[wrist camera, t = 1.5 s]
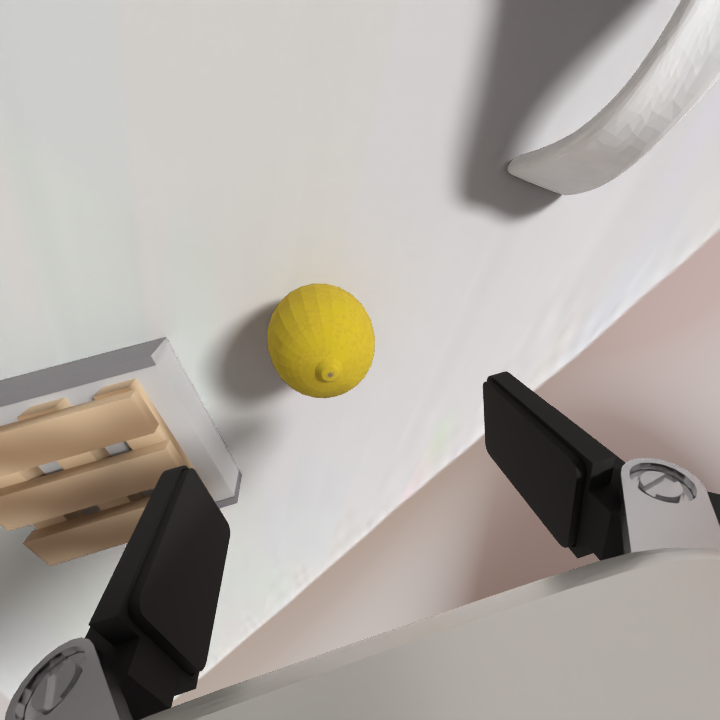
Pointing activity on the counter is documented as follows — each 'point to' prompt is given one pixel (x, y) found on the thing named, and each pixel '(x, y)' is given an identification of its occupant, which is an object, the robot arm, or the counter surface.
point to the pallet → (83, 470)
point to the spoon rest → (635, 107)
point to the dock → (162, 386)
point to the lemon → (321, 340)
